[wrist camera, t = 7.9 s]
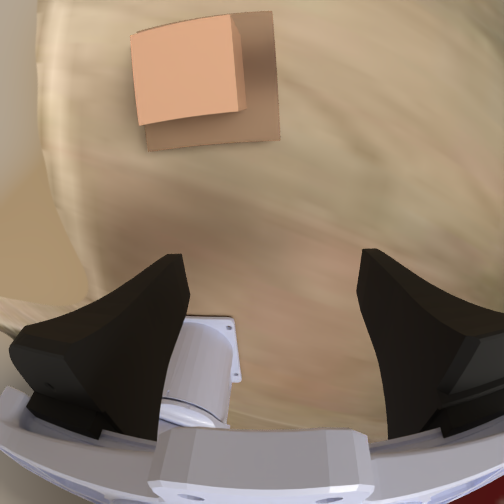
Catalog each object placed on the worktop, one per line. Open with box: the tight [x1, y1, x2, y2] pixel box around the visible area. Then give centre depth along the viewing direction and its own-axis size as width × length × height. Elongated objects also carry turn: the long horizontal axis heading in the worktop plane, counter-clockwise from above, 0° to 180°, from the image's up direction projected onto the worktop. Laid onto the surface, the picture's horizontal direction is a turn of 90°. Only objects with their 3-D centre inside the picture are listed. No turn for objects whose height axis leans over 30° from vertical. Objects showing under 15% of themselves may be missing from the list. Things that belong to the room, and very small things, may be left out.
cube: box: [130, 15, 247, 126], centre depth 12 cm, size 4×4×4 cm
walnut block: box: [137, 11, 280, 152], centre depth 16 cm, size 8×8×3 cm
